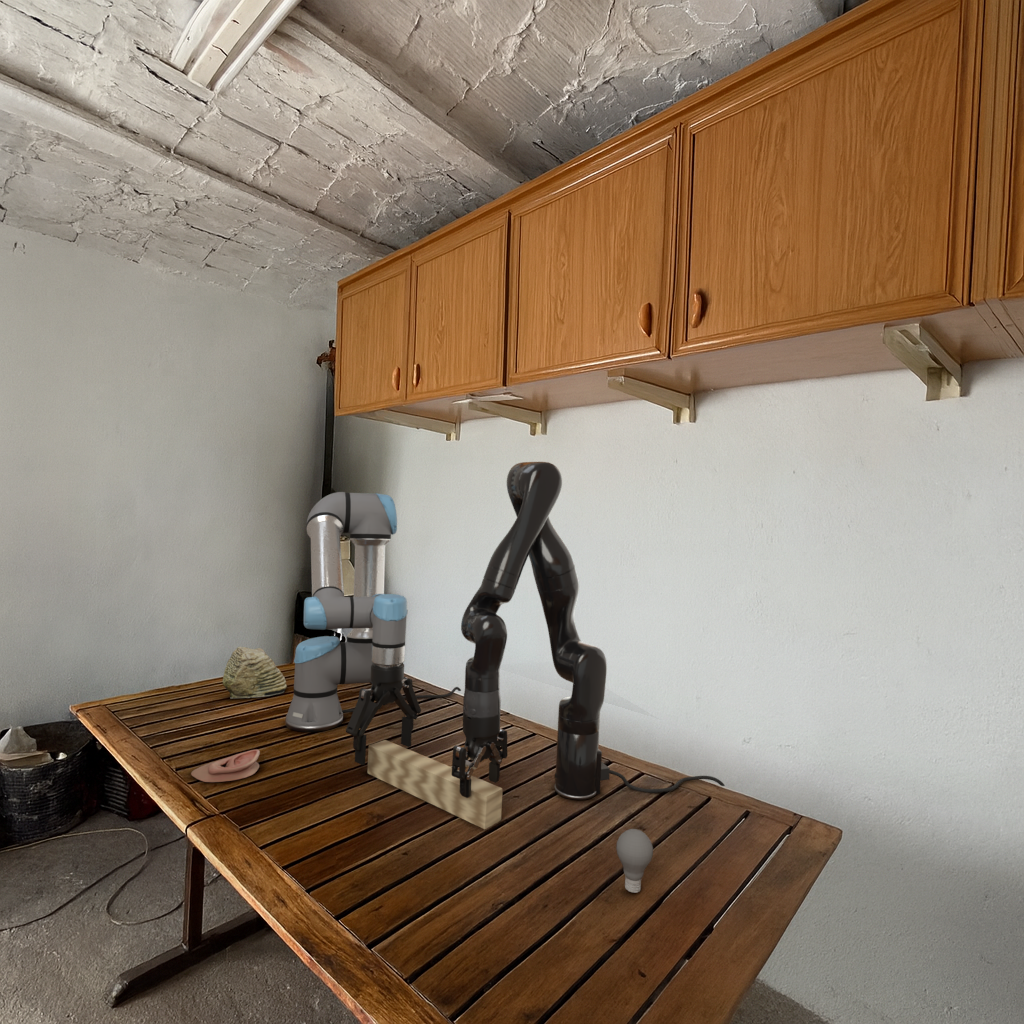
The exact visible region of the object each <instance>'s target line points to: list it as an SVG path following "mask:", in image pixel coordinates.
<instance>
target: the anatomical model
mask: <svg viewBox="0 0 1024 1024" xmlns="http://www.w3.org/2000/svg"><path fill="white" fill-rule="evenodd" d="M260 754H261V752H260V749H257V748H256V749H251V750H247V751H243V752H240V753H236V754H234V755H231V756H228V757H225V758H222V759H219V760H216V761H211V762H209V763H206V764H204V765H201V766H198V767H197V768H195V769H193V770H192V771H191V773H190V775H191V776H192V777H193V778H194V779H196V780H198V781H201V782H203V783H221V782H230V781H231V782H233V781H237V780H241V779H246V778H248V777H250V776H253V775H254V774H256V772H257V771H258V770H259V768H260V764H259V762H258V759H259V757H260Z"/></svg>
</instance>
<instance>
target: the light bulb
mask: <svg viewBox="0 0 1024 1024" xmlns="http://www.w3.org/2000/svg"><path fill="white" fill-rule="evenodd" d="M615 849H616V854H617V857H618V859H619V861H620V863H621V865H622V867H623V873H624V874H623V875H624V876H625V878H624V888H625V890H627V891H628V892H630V893H634V894H635V893H639V892H640V891H641V889H642V887H641V886H642V879H643V877H644V875H645V871H646V868H647V867H648V866H649V864H650V863H651V861H652V859H653V855H654V847H653V843H652V841H651V838H649V836H648V835H647V834H646V833H645V832H643V831H642V830H641V829H636V828H629V829H627V830H625V831H623V832H622V833H621V834H620V835H619V837H618V839H617V841H616V847H615Z"/></svg>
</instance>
